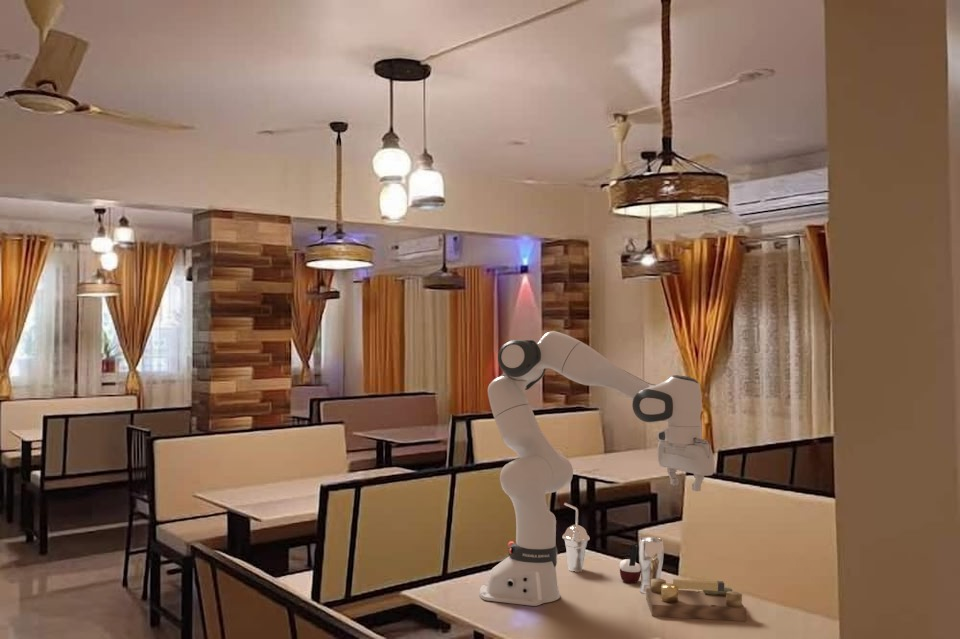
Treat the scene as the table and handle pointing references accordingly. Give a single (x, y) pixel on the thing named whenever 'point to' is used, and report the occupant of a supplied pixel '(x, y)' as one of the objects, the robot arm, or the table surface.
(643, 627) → the table surface
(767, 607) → the table surface
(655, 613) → the levelling base
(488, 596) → the robot arm
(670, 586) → the lever handle
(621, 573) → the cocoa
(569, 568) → the cup with straw
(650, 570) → the beer glass
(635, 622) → the table surface
